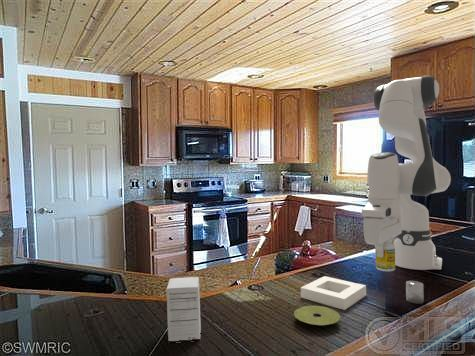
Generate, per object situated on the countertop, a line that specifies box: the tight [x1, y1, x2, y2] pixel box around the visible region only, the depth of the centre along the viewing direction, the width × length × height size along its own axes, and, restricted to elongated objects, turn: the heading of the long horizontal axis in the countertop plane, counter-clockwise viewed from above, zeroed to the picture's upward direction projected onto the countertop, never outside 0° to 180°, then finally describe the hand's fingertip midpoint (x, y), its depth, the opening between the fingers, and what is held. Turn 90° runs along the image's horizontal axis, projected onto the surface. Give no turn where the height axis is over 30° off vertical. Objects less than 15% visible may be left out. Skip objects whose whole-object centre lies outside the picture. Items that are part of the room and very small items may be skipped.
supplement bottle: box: [374, 237, 396, 272], centre depth 97 cm, size 5×5×10 cm
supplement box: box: [166, 276, 202, 341], centre depth 78 cm, size 7×7×13 cm
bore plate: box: [300, 275, 367, 311], centre depth 99 cm, size 14×14×3 cm
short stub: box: [405, 280, 425, 305], centre depth 94 cm, size 4×4×5 cm
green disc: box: [293, 305, 341, 326], centre depth 82 cm, size 11×11×2 cm
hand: (385, 254), depth 97 cm, fingers closed on supplement bottle, 5 cm apart
